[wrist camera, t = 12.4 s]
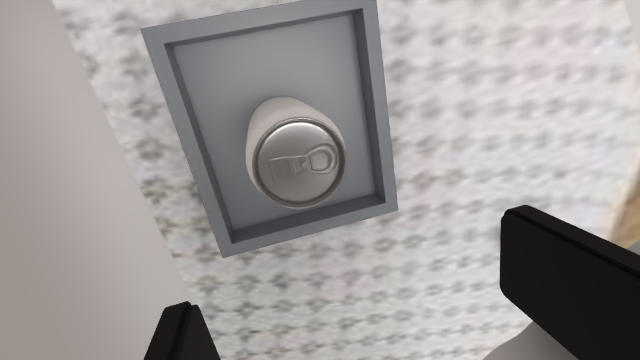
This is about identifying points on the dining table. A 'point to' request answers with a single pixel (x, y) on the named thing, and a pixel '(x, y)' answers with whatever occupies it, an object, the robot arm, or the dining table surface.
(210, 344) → the robot arm
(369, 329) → the dining table surface
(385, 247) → the dining table surface
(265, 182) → the can
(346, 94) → the tray
